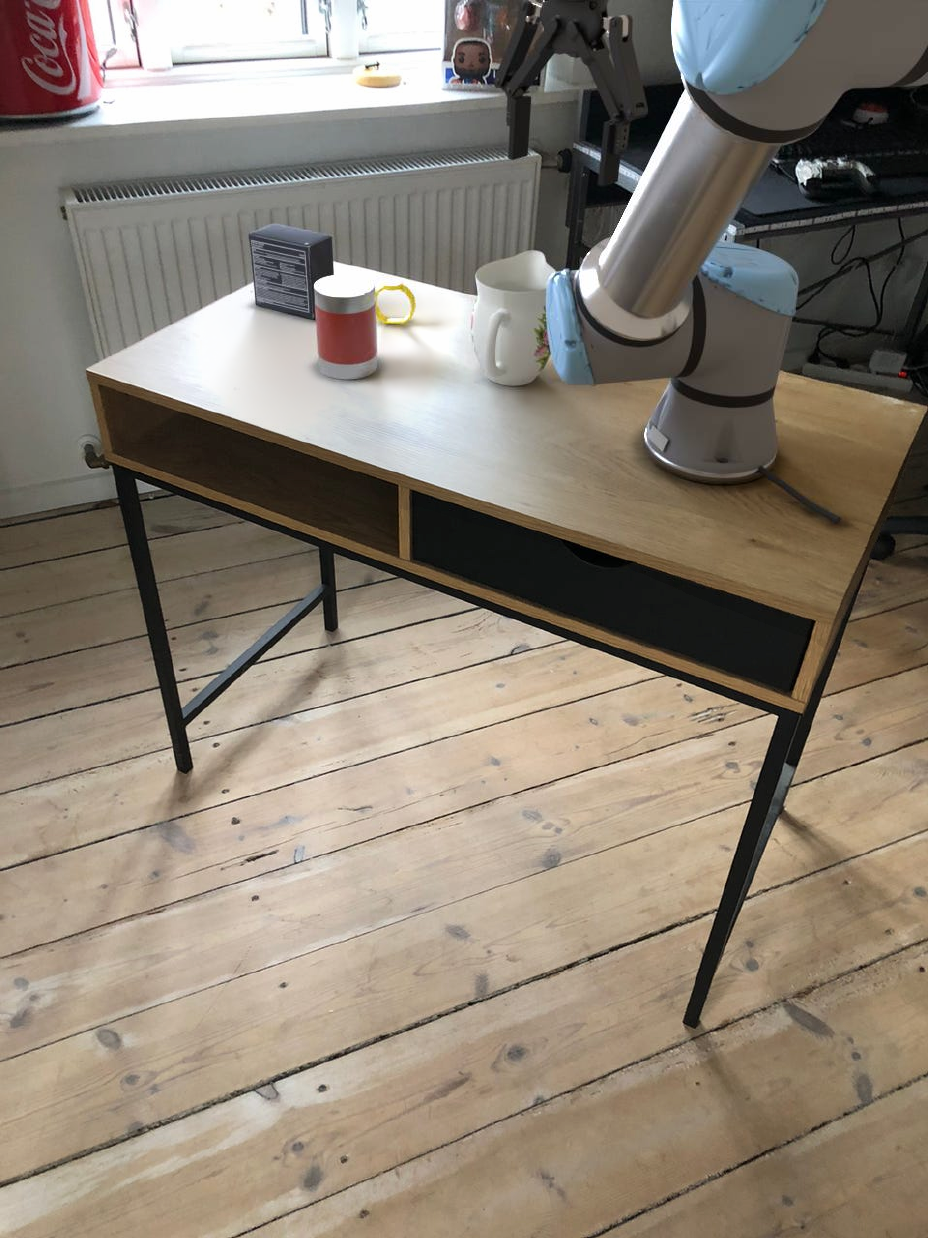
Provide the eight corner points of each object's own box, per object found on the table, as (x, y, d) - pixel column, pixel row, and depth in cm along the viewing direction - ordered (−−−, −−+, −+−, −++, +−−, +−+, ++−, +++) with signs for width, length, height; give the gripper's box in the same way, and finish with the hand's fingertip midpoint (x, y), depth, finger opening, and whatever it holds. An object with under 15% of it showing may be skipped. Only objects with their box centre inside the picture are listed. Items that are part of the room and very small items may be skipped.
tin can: (389, 368, 135) (387, 286, 128) (343, 385, 131) (339, 302, 124) (352, 349, 140) (349, 269, 133) (307, 365, 135) (301, 283, 129)
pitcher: (444, 398, 129) (446, 292, 120) (491, 343, 142) (496, 244, 134) (527, 415, 126) (535, 307, 118) (567, 357, 139) (577, 256, 131)
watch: (416, 320, 148) (416, 280, 144) (413, 328, 146) (412, 287, 142) (376, 317, 148) (374, 276, 145) (371, 324, 146) (370, 283, 142)
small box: (338, 305, 151) (335, 233, 145) (313, 320, 147) (308, 247, 140) (279, 291, 155) (273, 220, 148) (253, 305, 150) (246, 233, 144)
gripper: (701, -36, 101) (668, 188, 115) (513, -62, 114) (504, 141, 128) (656, -30, 97) (628, 201, 110) (467, -58, 110) (462, 152, 124)
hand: (561, 170), depth 119 cm, fingers open, 13 cm apart
